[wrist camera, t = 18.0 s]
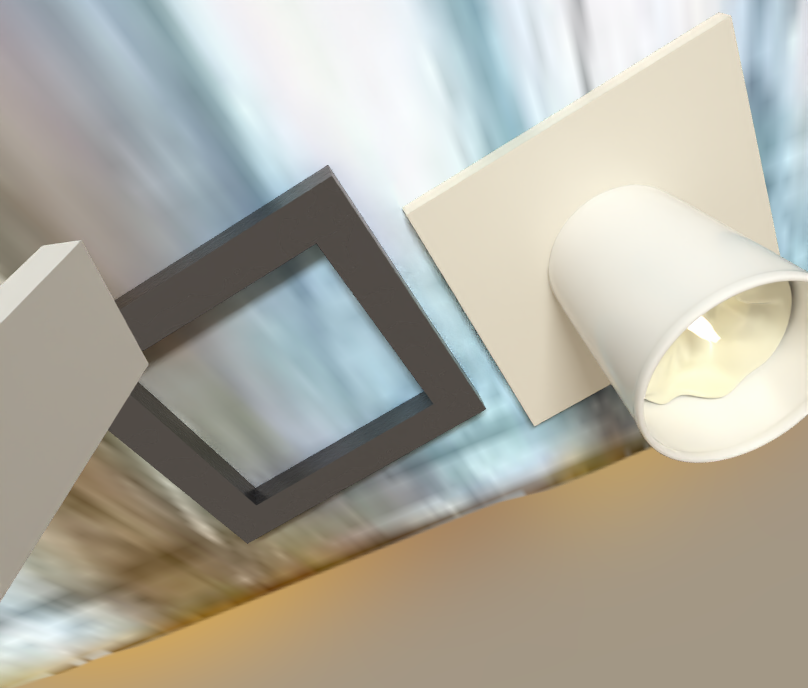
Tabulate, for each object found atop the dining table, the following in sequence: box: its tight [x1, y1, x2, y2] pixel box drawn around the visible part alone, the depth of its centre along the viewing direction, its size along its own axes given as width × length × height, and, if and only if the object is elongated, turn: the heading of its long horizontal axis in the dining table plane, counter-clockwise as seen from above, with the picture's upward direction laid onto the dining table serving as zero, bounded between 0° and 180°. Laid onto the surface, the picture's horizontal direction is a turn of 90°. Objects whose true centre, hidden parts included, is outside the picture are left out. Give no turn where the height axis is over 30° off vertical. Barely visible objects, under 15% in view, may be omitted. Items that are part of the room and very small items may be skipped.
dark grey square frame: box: [108, 165, 486, 544], centre depth 39 cm, size 18×18×2 cm
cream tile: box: [402, 12, 780, 426], centre depth 39 cm, size 18×18×1 cm
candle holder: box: [548, 184, 808, 463], centre depth 33 cm, size 10×10×12 cm
